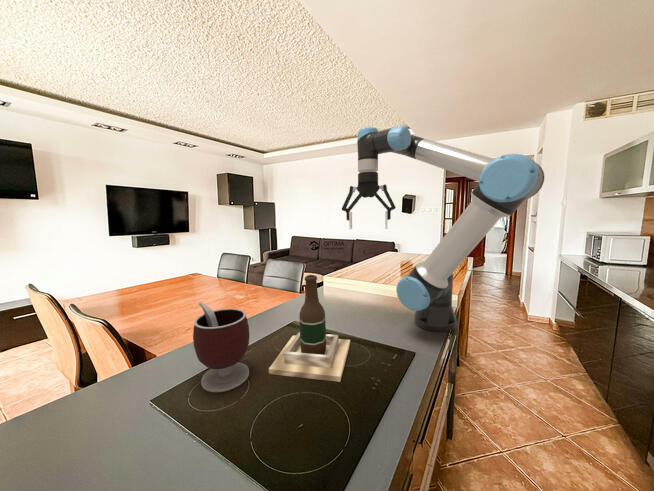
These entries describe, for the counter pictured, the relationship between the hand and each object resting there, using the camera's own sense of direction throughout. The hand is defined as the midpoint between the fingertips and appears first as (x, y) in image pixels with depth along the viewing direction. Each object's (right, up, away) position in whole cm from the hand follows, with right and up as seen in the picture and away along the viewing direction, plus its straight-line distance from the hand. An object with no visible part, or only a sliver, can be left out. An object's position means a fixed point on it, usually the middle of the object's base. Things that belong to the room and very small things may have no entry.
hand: (368, 228), depth 103 cm
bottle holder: (-20, -41, -22) cm, 50 cm away
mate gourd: (-44, -43, -30) cm, 68 cm away
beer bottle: (-20, -39, -22) cm, 49 cm away
